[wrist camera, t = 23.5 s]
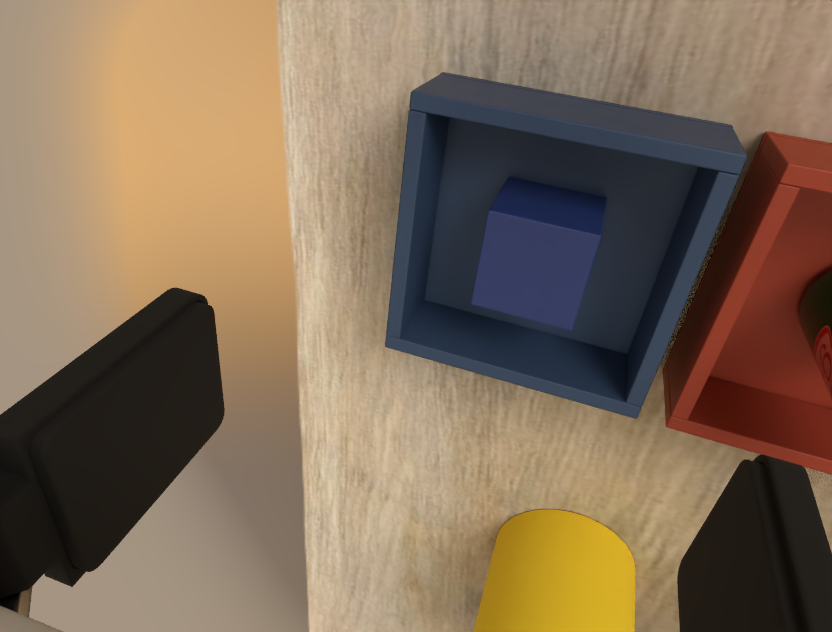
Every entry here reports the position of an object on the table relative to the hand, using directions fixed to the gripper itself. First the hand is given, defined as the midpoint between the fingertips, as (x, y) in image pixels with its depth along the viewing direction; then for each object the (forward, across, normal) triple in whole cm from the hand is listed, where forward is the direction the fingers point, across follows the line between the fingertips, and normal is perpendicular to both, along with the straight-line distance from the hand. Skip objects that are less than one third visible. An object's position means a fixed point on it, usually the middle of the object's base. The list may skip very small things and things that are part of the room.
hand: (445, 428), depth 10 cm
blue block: (+22, 0, +6) cm, 23 cm away
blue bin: (+22, 0, +6) cm, 23 cm away
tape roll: (+22, -7, +31) cm, 39 cm away
